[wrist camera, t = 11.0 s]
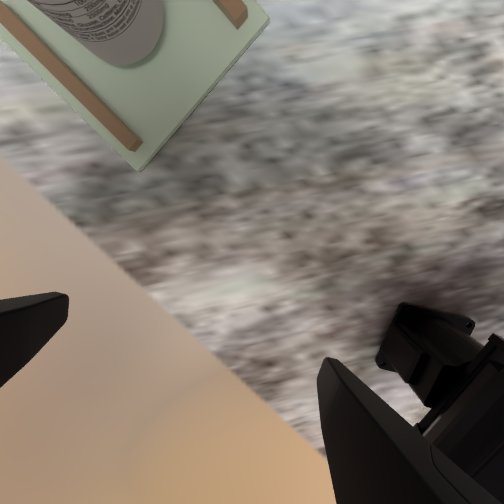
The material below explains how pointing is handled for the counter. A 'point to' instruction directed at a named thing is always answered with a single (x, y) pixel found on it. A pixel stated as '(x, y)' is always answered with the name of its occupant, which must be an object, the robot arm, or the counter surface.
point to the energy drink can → (109, 25)
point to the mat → (138, 68)
